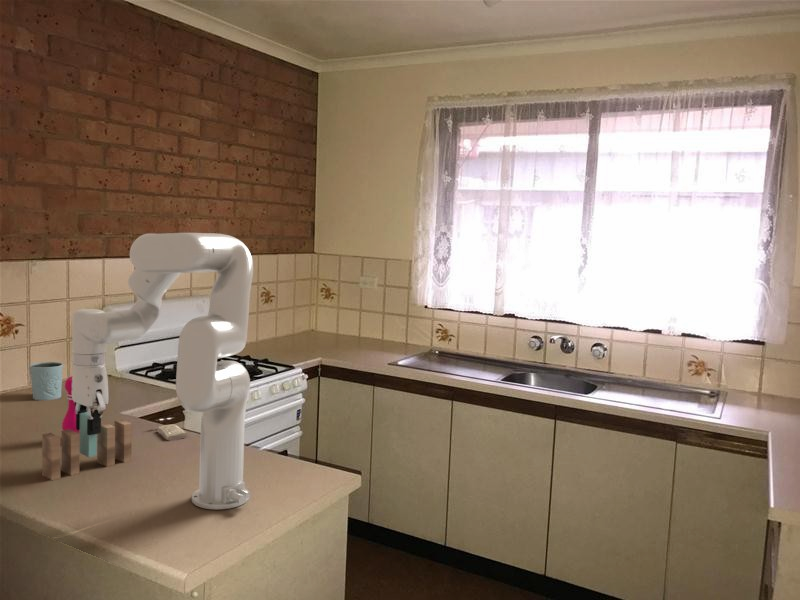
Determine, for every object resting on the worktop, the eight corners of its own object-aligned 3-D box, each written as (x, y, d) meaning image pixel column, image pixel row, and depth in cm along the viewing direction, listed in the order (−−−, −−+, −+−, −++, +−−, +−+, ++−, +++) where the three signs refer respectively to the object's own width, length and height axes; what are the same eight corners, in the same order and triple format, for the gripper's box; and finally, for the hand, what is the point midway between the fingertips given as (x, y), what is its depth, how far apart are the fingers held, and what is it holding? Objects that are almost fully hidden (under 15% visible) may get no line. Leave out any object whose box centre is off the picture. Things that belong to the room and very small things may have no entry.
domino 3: (96, 455, 166) (97, 416, 165) (88, 457, 165) (89, 417, 164) (86, 450, 169) (87, 412, 168) (79, 452, 168) (79, 413, 167)
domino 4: (114, 465, 170) (115, 426, 169) (107, 467, 168) (107, 428, 167) (104, 460, 173) (105, 422, 172) (97, 462, 171) (97, 423, 171)
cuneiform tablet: (174, 417, 202) (187, 427, 192) (174, 429, 202) (187, 440, 193) (154, 419, 199) (167, 430, 189) (154, 432, 199) (167, 443, 189)
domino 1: (60, 478, 159) (60, 437, 158) (51, 480, 158) (51, 439, 157) (50, 472, 162) (50, 432, 162) (42, 474, 161) (42, 434, 160)
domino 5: (131, 461, 173) (131, 423, 172) (124, 462, 172) (124, 424, 171) (121, 456, 177) (121, 419, 176) (114, 458, 175) (114, 420, 174)
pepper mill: (94, 441, 188) (95, 371, 186) (68, 446, 183) (68, 374, 181) (84, 435, 193) (84, 366, 191) (57, 439, 187) (58, 369, 186)
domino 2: (79, 473, 163) (79, 433, 162) (71, 475, 161) (71, 435, 160) (69, 468, 166) (69, 429, 165) (61, 470, 164) (61, 430, 164)
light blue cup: (64, 400, 229) (65, 366, 228) (31, 403, 223) (31, 368, 222) (60, 394, 237) (60, 360, 236) (27, 397, 231) (27, 362, 230)
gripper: (121, 363, 162) (120, 436, 164) (87, 352, 173) (86, 421, 175) (91, 366, 157) (90, 442, 158) (57, 355, 167) (57, 426, 169)
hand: (88, 430), depth 166 cm, fingers closed on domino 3, 4 cm apart
